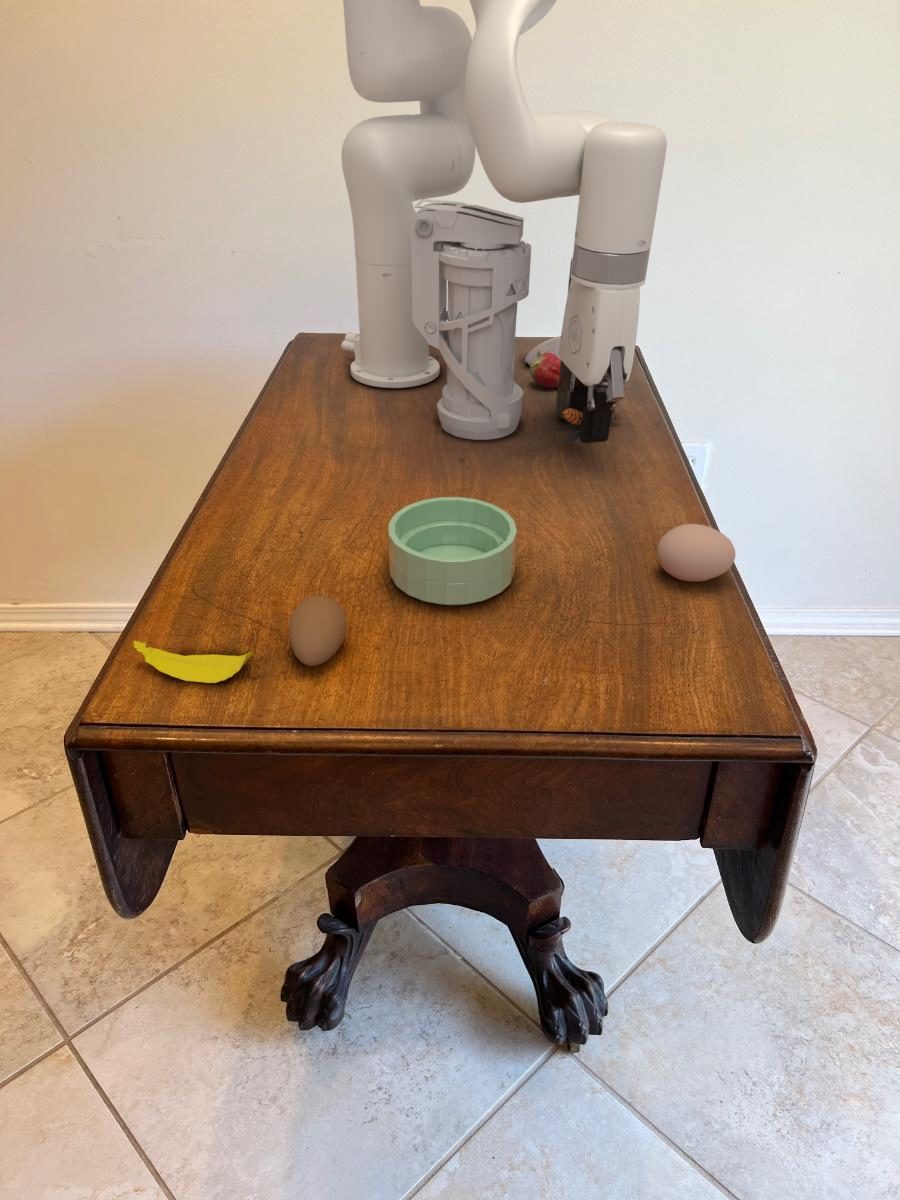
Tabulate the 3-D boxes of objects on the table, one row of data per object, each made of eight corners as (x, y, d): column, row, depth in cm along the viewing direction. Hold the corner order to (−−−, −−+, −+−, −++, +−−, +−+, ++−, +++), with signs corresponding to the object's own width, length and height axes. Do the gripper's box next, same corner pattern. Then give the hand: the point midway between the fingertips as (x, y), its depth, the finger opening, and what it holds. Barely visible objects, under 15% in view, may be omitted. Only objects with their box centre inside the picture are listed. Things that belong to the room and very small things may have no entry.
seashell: (602, 356, 115) (532, 337, 115) (589, 392, 119) (521, 374, 119) (601, 332, 124) (536, 314, 123) (590, 366, 127) (526, 349, 127)
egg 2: (662, 549, 71) (744, 554, 70) (660, 509, 75) (738, 514, 74) (653, 590, 75) (731, 596, 74) (651, 551, 78) (726, 556, 78)
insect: (609, 384, 94) (601, 425, 97) (558, 387, 93) (553, 428, 96) (624, 397, 91) (616, 439, 94) (572, 400, 90) (565, 443, 93)
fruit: (571, 392, 113) (574, 356, 110) (527, 390, 113) (529, 354, 110) (571, 381, 116) (574, 346, 113) (528, 379, 117) (530, 344, 114)
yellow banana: (145, 650, 67) (127, 678, 64) (139, 630, 65) (121, 658, 63) (262, 659, 66) (249, 687, 63) (259, 638, 65) (246, 667, 62)
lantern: (525, 411, 107) (538, 198, 93) (516, 444, 99) (528, 216, 85) (426, 403, 109) (424, 194, 95) (409, 436, 101) (404, 211, 86)
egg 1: (311, 616, 69) (295, 679, 66) (288, 585, 66) (269, 649, 63) (360, 613, 68) (346, 677, 65) (339, 580, 65) (323, 646, 61)
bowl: (365, 584, 75) (362, 535, 72) (435, 531, 82) (435, 485, 79) (471, 625, 70) (472, 575, 67) (535, 565, 77) (539, 518, 74)
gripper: (548, 244, 90) (533, 405, 100) (604, 290, 77) (580, 469, 88) (613, 242, 91) (592, 402, 102) (679, 287, 78) (646, 463, 89)
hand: (586, 431), depth 95 cm, fingers closed on insect, 3 cm apart
